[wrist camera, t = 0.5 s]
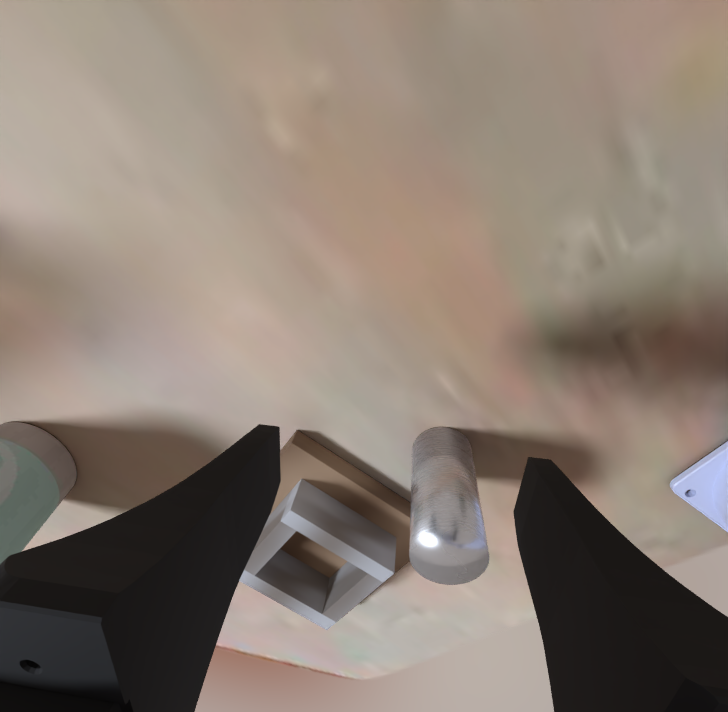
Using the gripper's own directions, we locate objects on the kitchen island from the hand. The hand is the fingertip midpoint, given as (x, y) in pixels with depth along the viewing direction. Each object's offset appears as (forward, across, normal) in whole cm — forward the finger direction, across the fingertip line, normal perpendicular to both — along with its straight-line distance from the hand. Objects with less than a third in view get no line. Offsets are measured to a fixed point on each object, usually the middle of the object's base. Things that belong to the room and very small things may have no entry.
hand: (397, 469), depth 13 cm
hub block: (+10, +4, +13) cm, 17 cm away
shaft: (+10, -2, +6) cm, 12 cm away
